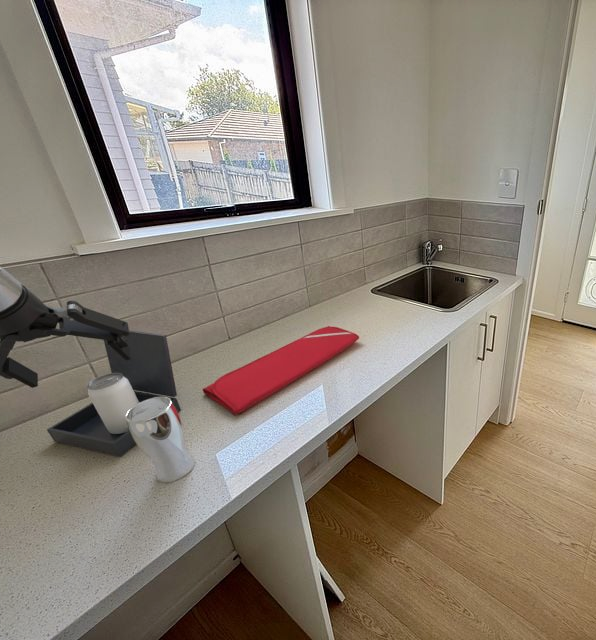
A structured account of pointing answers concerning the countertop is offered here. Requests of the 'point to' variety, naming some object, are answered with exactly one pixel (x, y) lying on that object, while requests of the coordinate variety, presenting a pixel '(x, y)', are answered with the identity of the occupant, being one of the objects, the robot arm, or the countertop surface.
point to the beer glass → (160, 437)
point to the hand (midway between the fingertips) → (83, 366)
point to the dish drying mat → (277, 369)
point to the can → (112, 400)
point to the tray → (96, 430)
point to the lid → (145, 363)
